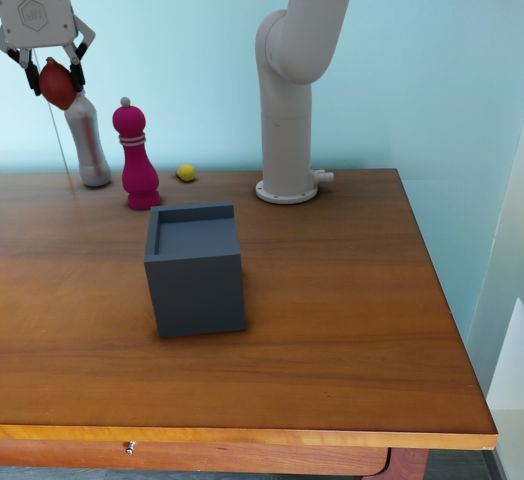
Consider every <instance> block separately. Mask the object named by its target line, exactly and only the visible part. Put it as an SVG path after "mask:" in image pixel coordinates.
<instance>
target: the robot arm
mask: <svg viewBox="0 0 524 480" xmlns="http://www.w3.org/2000/svg"><path fill="white" fill-rule="evenodd" d="M349 3H350V0H288V3H287V7H286V9H285V8H284V9H278V10H277V9H276V10H274V11H272V12H270V13H269V14H267V15H266V16H264V18H263V19H262V21H261V22H260V24H259V26H258V27H257V31H256V34H255V38H254V40H255V41H254V55H255V63H256V70H257V77H258V78H257V79H258V87H259V101H260V102H259V103H260V132H261V133H260V134H261V158H262V159H261V161H262V180H260V181H259V182H257V184H256V186H255V194H256V196H257V197H258V198H259V199H261V200H263V201H265V202H267V203H271V204H277V205H293V204H294V205H295V204H300V203H304V202H307V201H309V200H311V199H312V198H314V197H315V196H317V193H318V184H321V183H324V184H326V183H327V184H328V183H333V182H334V178H335V177H334V175H335V174H334V172H326V170H325V169H318V170H314V169H313V168H312V166H311V156H312V155H311V152H312V151H311V148H312V111H313V107H312V106H313V93H312V84H313V83H315V82H317V81H318V80H320V79H321V78H322V77H323V76H324V74H325V73H326V72H327V70H328V68H329V67H330V65H331V63H332V60H333V58H334V54H335V53H336V48H337V45H338V41H339V38H340V34H341V31H342V28H343V25H344V21H345V17H346V14H347V10H348V7H349ZM74 11H75V10H74V8H73V5H72V2H71V0H0V23H1V24H0V51H1V52H2V53H4V54H5V55H6V56H8V57H9V58H10V59H11V60H13V61H14V62H15V63H16V64H18V65H19V66H20V68H22V69H23V70H24V74H25V78H26V79H27V83H28V86H29V88H30V90H33V93H34V95H35V97H40V96H41V95H42V93H41V91H40V88H39V75H40V72H39V68H38V65H36V63H34V60H33V49H39V48H40V49H43V48H53V47H54V48H55V47H62V49H63V50H64V52H65V54H66V56H67V57H68V59H69V62H70V65H69V71H70V72H71V75H72V79H73V83H74V86H75V90H76V92H77V93H80V92H82V90H83V88H84V89H85V85H86V77H85V75H84V74H85V73H84V70H83V66H82V60H83V58H84V56H85V55H86V53H87V51H88V49H89V48H90V46H91V45H92V43H93V42H94V40H95V39H96V37H97V33H96V32H95V31H94V30H93V29H92V28H91V27H89V25H87V24H86V23H85V22H84V21H83V20H82V19H81V18H79V17H78V15H76V14H75V12H74ZM79 33H80V34H82V36H83V38H82V40H81V42H80V43H79V45H78V46H77V45H76V43H75V42H74V41H75V39H77V38H78V37H79V35H80V34H79ZM83 86H84V87H83Z"/></svg>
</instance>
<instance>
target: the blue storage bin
mask: <svg viewBox="0 0 524 480" xmlns="http://www.w3.org/2000/svg"><path fill="white" fill-rule="evenodd" d="M234 207H235V206H234V200H222V201H207V202H194V203H184V204H183V203H182V204H181V203H180V204H167V205H157V206H154V207H151V208H150V213H149V220H148V228H147V234H146V235H147V236H146V242H145V248H144V249H145V250H144V258H143V265H144V270H145V275H146V281H147V285H148V291H149V294H150V300H151V305H152V309H153V314H154V319H155V323H156V329H157V334H158V338H159V339H163V338H172V337H184V336H185V337H186V336H196V335H206V334H216V333H217V334H218V333H227V332H229V333H230V332H238V331H239V332H240V331H247V327H246V325H247V324H246V312H245V311H246V310H245V297H244V295H245V294H244V284H243V283H244V282H243V270H242V269H243V268H242V267H243V266H242V255H241V248H240V247H239V239H238V234H237V226H236V219H235V209H234Z"/></svg>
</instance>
